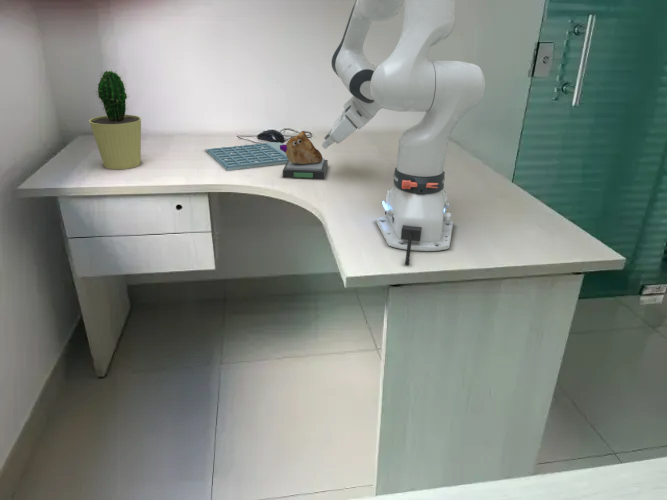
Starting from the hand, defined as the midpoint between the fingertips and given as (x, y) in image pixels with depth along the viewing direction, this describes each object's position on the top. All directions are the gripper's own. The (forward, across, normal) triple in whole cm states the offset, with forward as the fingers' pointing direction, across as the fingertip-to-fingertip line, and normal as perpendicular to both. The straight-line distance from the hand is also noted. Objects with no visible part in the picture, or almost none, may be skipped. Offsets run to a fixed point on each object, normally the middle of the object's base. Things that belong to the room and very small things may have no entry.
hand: (324, 143), depth 165 cm
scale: (+11, 0, +3) cm, 11 cm away
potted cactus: (+54, 0, -40) cm, 68 cm away
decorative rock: (+9, +2, 0) cm, 10 cm away
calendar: (+25, -17, -11) cm, 33 cm away
